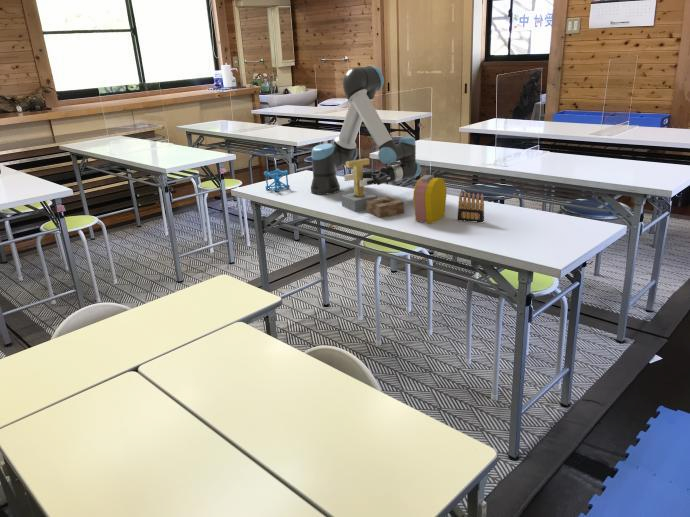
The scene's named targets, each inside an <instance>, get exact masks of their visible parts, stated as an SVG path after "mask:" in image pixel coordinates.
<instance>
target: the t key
mask: <svg viewBox="0 0 690 517" xmlns="http://www.w3.org/2000/svg"><path fill="white" fill-rule="evenodd" d="M370 164H371V163H370V158H367V157H366V158H360V159H355V160H353V161H347V162H346V165H345V168H348V169H350V168H352V171H353V172H352V174H353V176H354V180H353V193H354V196H355V197H357V198H358V197H363V196H364V191H365V190H364V188H365V186H362V187H360V181H359V180H364V178H363V171H364V166H366V165H368V166H369V165H370Z"/></svg>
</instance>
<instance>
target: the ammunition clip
mask: <svg viewBox="0 0 690 517" xmlns="http://www.w3.org/2000/svg"><path fill="white" fill-rule="evenodd" d="M458 195H459V196H458V205H457V206H458V208H457V218H456V220H457V221H459V220H462V221H461V222H469V221H477V222H476V223H479V222H483V221H484V222H485V201H484V200H485V199H484V194H483V193H481V195H480V194H479V192H478V193H477V194H476V195H475V193H474V192H473V193H472V195H471V193H470V192H469V191H468V193H466V192H463V193H462V191H460V192H459V194H458ZM464 220H465V221H464ZM484 222H483V223H484Z"/></svg>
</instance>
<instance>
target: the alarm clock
mask: <svg viewBox="0 0 690 517" xmlns="http://www.w3.org/2000/svg"><path fill="white" fill-rule="evenodd" d="M412 196H413V197H412V198H413V199H412V200H413V207H414V214H415V216H414V217H415V222H418V221H422V222H421V223H425V222H428V223H427V224H434V223H436V222H438V221H439V220H440V219H442V218H443V216H444V217H445V212H446V202H447V185H446V182H445V180H444V179H443V178H442V177H435V175H433V174H424V175H422V176H421V177H420V178H418V180H417V181H416V183H415V185H414V189H413V195H412ZM438 219H439V220H438ZM435 221H436V222H435ZM433 222H434V223H433Z"/></svg>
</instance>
